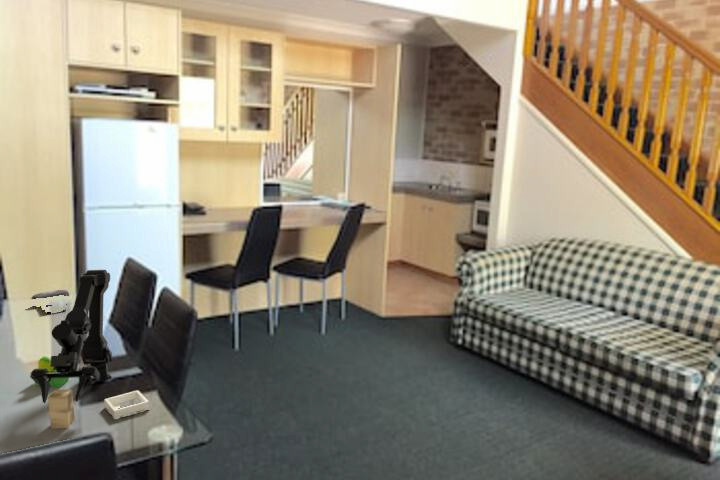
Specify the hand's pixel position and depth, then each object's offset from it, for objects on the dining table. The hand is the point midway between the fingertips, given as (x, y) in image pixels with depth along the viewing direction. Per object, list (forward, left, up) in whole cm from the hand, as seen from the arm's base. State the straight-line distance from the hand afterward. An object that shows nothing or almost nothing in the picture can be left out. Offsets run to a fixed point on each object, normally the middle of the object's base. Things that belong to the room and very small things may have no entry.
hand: (60, 402), depth 176 cm
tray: (+4, +18, -7) cm, 20 cm away
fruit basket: (-34, +7, -8) cm, 36 cm away
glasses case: (-140, +39, -8) cm, 145 cm away
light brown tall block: (0, 0, -7) cm, 7 cm away
